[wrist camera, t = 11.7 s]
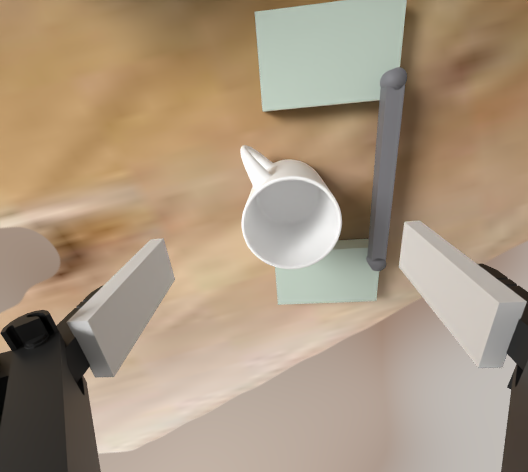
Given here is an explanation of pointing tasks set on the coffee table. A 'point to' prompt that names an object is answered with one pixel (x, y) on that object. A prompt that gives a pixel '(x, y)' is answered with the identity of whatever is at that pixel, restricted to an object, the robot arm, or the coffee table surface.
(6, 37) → the coffee table surface
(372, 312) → the coffee table surface
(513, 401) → the robot arm
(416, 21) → the coffee table surface
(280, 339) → the coffee table surface
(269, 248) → the mug
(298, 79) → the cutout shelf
